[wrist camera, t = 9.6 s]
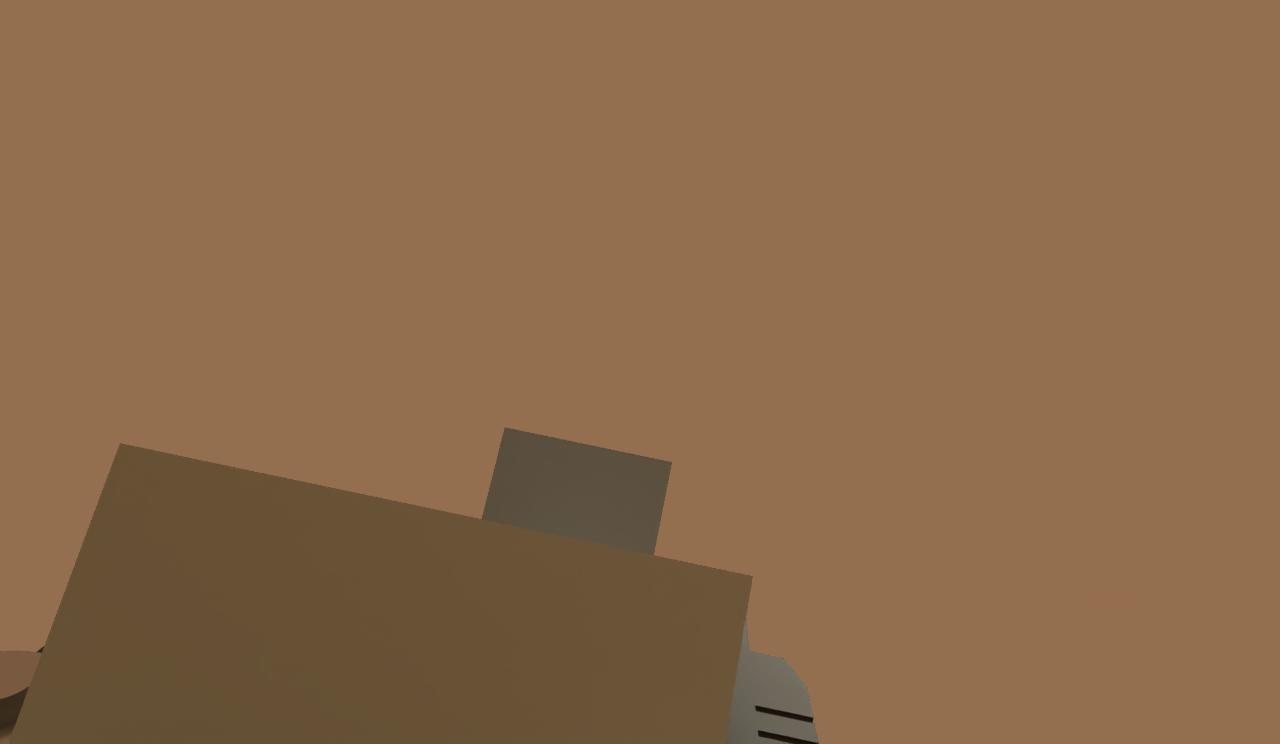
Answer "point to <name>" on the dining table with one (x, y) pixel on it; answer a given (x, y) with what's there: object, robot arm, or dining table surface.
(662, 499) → the block
